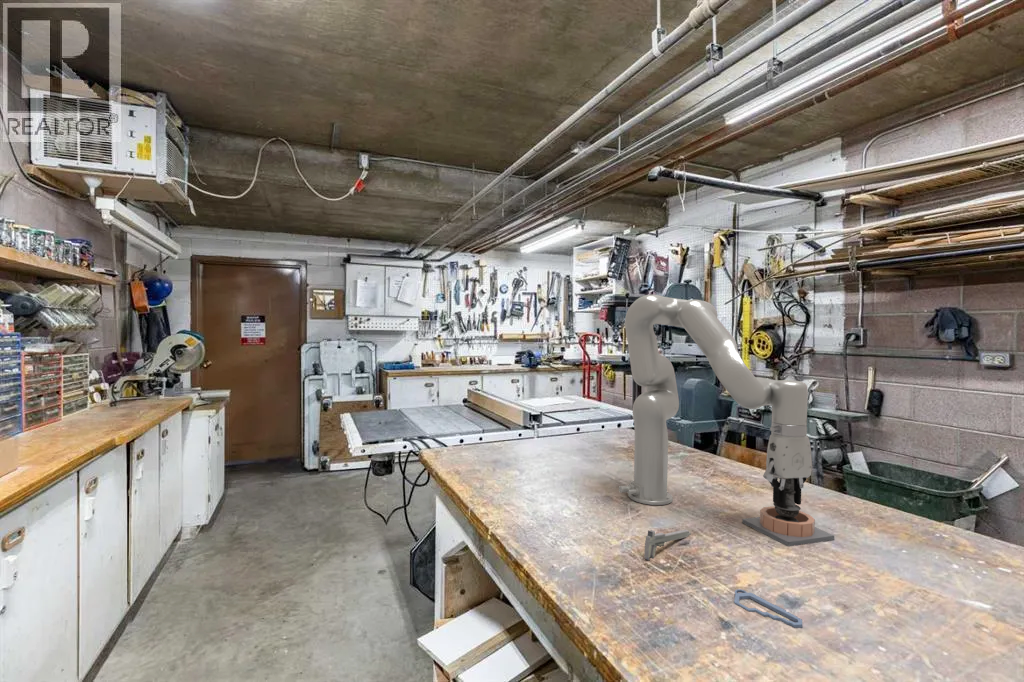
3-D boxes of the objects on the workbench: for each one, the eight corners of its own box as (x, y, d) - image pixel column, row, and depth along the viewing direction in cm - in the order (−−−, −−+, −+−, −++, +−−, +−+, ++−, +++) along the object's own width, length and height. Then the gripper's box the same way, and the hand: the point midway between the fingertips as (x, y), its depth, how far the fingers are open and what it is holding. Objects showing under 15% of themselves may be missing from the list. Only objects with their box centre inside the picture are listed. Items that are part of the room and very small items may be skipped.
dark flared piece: (797, 517, 118) (798, 470, 118) (803, 526, 113) (804, 476, 113) (770, 514, 120) (772, 467, 120) (775, 522, 115) (776, 474, 115)
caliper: (648, 562, 99) (649, 533, 99) (644, 561, 100) (644, 531, 100) (691, 535, 114) (691, 509, 114) (686, 533, 115) (687, 508, 114)
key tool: (791, 638, 76) (807, 625, 78) (791, 632, 76) (807, 620, 78) (724, 602, 86) (740, 591, 89) (724, 597, 86) (740, 587, 88)
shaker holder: (788, 546, 108) (788, 529, 108) (742, 522, 121) (742, 507, 121) (834, 539, 112) (834, 523, 112) (784, 517, 125) (785, 502, 125)
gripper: (774, 435, 110) (772, 512, 111) (828, 431, 115) (826, 506, 115) (749, 428, 118) (747, 501, 118) (801, 426, 122) (799, 495, 123)
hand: (786, 502), depth 117 cm, fingers closed on dark flared piece, 4 cm apart
